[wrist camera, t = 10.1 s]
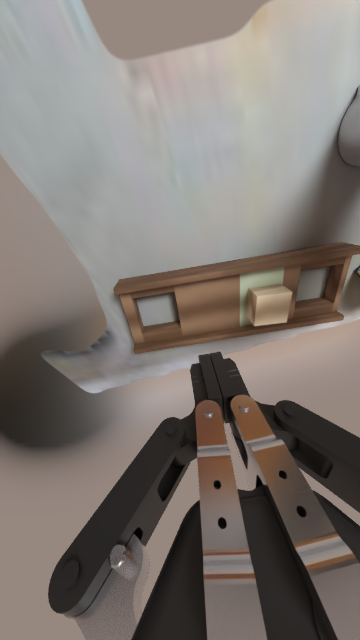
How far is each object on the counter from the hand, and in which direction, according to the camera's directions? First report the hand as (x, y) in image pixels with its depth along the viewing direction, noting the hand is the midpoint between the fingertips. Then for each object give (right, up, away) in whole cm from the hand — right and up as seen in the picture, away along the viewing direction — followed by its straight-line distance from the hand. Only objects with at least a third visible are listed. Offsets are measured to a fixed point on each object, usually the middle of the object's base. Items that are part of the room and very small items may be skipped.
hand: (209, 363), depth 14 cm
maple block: (+14, +7, +25) cm, 29 cm away
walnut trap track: (+8, +8, +27) cm, 30 cm away
